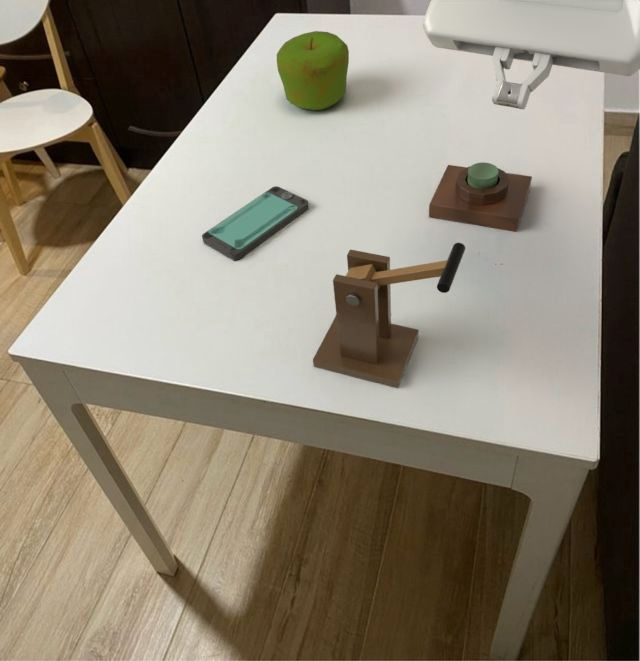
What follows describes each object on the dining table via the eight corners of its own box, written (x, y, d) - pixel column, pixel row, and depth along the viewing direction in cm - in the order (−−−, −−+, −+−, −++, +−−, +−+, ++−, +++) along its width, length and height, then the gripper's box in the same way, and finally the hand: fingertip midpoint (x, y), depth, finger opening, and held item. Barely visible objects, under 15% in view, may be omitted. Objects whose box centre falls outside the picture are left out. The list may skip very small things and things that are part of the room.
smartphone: (310, 200, 95) (233, 254, 88) (310, 207, 95) (235, 261, 88) (274, 183, 98) (198, 234, 91) (275, 190, 99) (200, 241, 92)
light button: (500, 175, 90) (501, 164, 89) (493, 191, 88) (495, 180, 87) (471, 171, 92) (472, 160, 90) (464, 187, 89) (465, 176, 88)
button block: (529, 189, 94) (534, 165, 91) (516, 231, 88) (520, 207, 85) (447, 177, 97) (448, 153, 95) (428, 217, 91) (429, 193, 88)
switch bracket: (418, 336, 76) (420, 252, 67) (397, 388, 72) (397, 305, 62) (338, 318, 80) (330, 235, 70) (313, 366, 75) (300, 284, 65)
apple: (297, 82, 122) (289, 20, 114) (360, 86, 119) (356, 23, 111) (272, 116, 115) (262, 52, 106) (339, 122, 111) (334, 56, 103)
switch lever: (469, 255, 64) (460, 236, 62) (453, 297, 60) (444, 277, 59) (365, 273, 71) (355, 256, 70) (346, 311, 67) (335, 293, 66)
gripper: (441, -75, 60) (395, 75, 62) (681, -58, 52) (621, 114, 54) (456, -39, 66) (414, 97, 68) (675, -19, 58) (621, 135, 60)
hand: (507, 105), depth 61 cm, fingers closed
